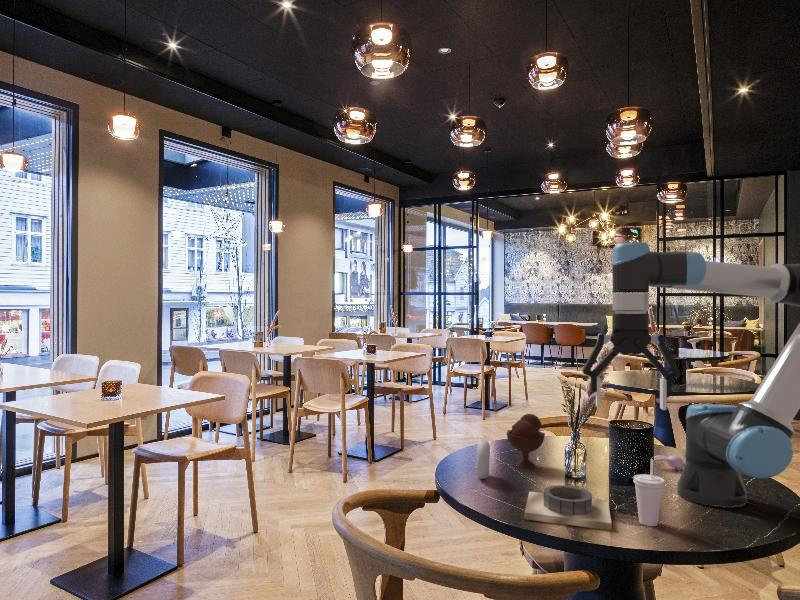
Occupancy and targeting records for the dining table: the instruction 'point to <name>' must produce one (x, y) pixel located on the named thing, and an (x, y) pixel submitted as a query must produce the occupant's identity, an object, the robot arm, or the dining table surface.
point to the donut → (483, 459)
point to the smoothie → (648, 497)
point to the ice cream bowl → (526, 438)
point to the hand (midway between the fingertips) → (630, 407)
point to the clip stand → (568, 507)
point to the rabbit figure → (672, 461)
